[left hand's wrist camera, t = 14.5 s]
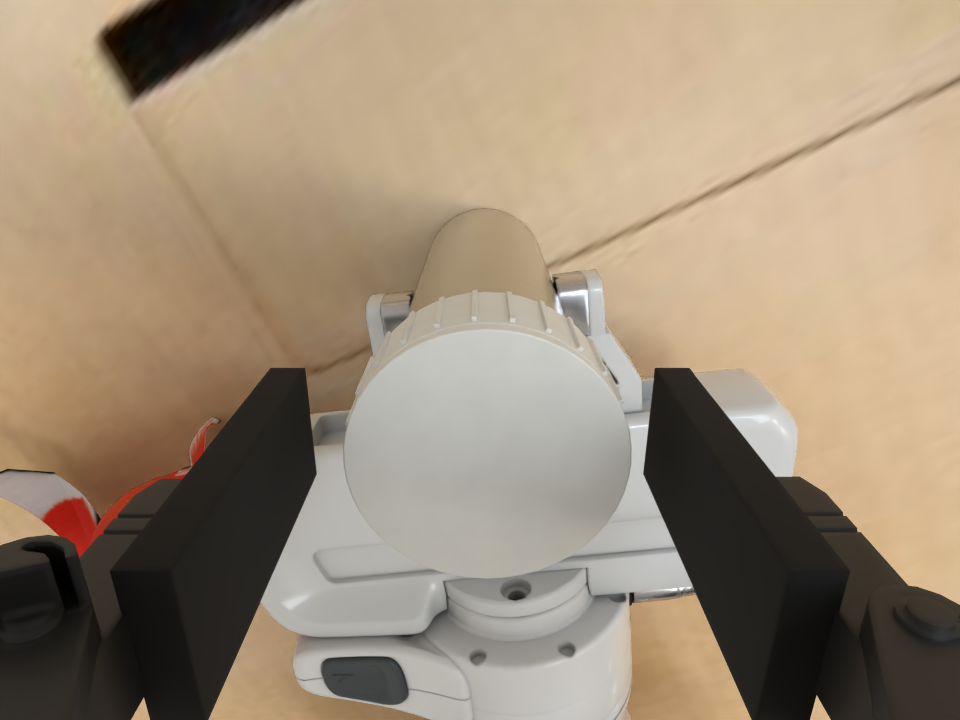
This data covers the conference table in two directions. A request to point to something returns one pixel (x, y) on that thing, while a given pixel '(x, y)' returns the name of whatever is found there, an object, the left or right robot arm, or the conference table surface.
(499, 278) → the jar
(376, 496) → the lid
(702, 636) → the conference table surface
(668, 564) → the right robot arm
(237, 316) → the conference table surface
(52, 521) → the fish
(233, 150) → the conference table surface
